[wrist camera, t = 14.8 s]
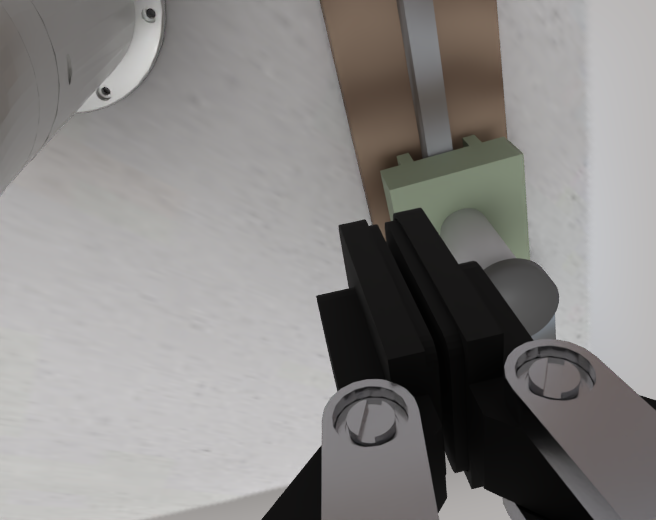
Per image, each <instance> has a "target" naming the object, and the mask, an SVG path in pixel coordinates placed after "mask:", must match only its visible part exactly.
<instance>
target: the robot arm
mask: <svg viewBox="0 0 656 520" xmlns="http://www.w3.org/2000/svg"><path fill="white" fill-rule="evenodd" d="M150 8H151V9H153V10H154V11H155V13H156V15H155V17H150V16H149V15H148V13H147V10H148V9H150ZM165 22H166V14H165V0H0V196H1V195H2V193H3V192H4V191H5V189H6V188H7V187H8V185H9V184H10V183H11V182H12V181H13V180H14V178H15V177H16V176H17V175H18V174H19V173H20V172H21V170H22V169H23V168H24V167H25V166H26V165H27V164H28V163H29V162H30V161H31V160H32V159H33V158H34V157H35V156H36V155H37V154H38V153H39V152H40V151H41V150H42V148H43V147H44V146H45V145H46V144H47V143H48V142H49V141H50V140H51V139H52V137H53V136H54V135H55V134H56V133H57V132H58V131H59V130H60V129H61V128H62V127H63V125H64V124H65V123H66V122H67V121H68V120H69V119H70V118H71V117H72V116H73V115H74V114H75V113H87V112H92V111H95V110H99V109H103V108H106V107H109V106H110V105H112V104H114V103H116V102H118V101H120V100H122V99H124V98H125V97H126V96H127V95H129V94H130V93H131V92H132V91H133V90H135V89H136V88H137V87H138V86H139V85H140V84H141V82H142V81H143V80H144V79H145V77H146V76H147V75H148V73H149V72H150V70H151V68H152V67H153V65H154V63H155V61H156V60H157V57H158V54H159V51H160V48H161V45H162V42H163V37H164V30H165ZM103 87H107V88H108V89H109V90H110V93H109V94H107V93H105V92H104V91H103ZM339 234H340V240H341V245H342V251H343V257H344V263H345V268H346V274H347V280H348V286H349V289H344V290H340V291H335V292H331V293H327V294H322V295H318V296H316V297H317V302H318V307H319V311H320V316H321V321H322V325H323V330H324V334H325V339H326V344H327V348H328V352H329V357H330V361H331V366H332V370H333V374H334V379H335V383H336V387H337V393H335V394H334V395H333V396H332V397H331V398H330V400H329V401H328V403H327V405H326V406H325V408H324V412H323V417H322V445H321V447H320V448H319V449H318V450H317V452H316V453H315V454H314V455H313V456H312V458H311V459H310V460H309V461H308V463H307V464H306V465H305V466H304V468H303V469H302V470H301V471H300V473H299V474H298V475H297V476H296V478H295V479H294V480H293V481H292V482H291V484H290V485H289V486H288V487H287V489H286V490H285V491H284V493H283V494H282V495H281V496H280V497H279V499H278V500H277V501H276V502H275V504H274V505H273V506H272V507H271V509H270V510H269V511H268V512H267V514H266V515H265V516H264V517H263V518H262V520H439V516H438V513H439V511H440V509H441V507H442V506H443V504H444V502H445V500H446V499H447V491H446V477H445V475H446V463H445V453H446V455H447V458H448V460H449V463H450V465H451V467H452V469H453V471H454V472H455V473H458V472H462V471H464V472H465V475H466V477H467V479H468V482H469V484H470V486H471V489H474V488H479V487H484V489H486V490H488V491H490V492H492V493H495V494H497V495H499V496H501V497H503V504H504V506H505V508H506V511H507V513H508V515H509V516H510V518H511V519H512V520H656V400H653V399H650V398H647V397H643V396H640V395H638V394H637V393H636V392H635V391H633V389H631V388H630V387H629V386H628V385H627V384H626V383H625V382H624V381H623V380H622V379H621V378H619V377H618V376H617V375H616V374H615V373H614V372H613V371H612V370H611V369H610V368H608V367H607V366H606V365H605V364H604V363H603V362H602V361H601V360H600V359H599V358H597V357H596V356H595V355H594V354H592V353H591V352H589V351H588V350H586V349H585V348H583V347H581V346H578V345H576V344H573V343H571V342H566V341H561V340H556V339H539V340H535V341H534V340H533V339H532V337H531V336H530V334H529V333H528V332H527V330H526V329H525V327H524V326H523V325H522V323H521V322H520V320H519V319H518V318H517V316H516V315H515V313H514V312H513V311H512V309H511V308H510V306H509V305H508V304H507V302H506V301H505V299H504V298H503V297H502V295H501V294H500V292H499V291H498V290H497V288H496V287H495V285H494V284H493V283H492V281H491V280H490V278H489V277H488V276H487V274H486V273H485V271H484V270H483V269H482V267H481V266H480V265H479V264H478V263H477V262H476V261H469V262H465V263H460V264H458V262H457V261H456V259H455V258H454V256H453V255H452V253H451V252H450V250H449V249H448V247H447V246H446V244H445V243H444V241H443V240H442V238H441V236H440V235H439V233H438V232H437V230H436V229H435V227H434V226H433V224H432V223H431V221H430V220H429V218H428V217H427V215H426V214H425V212H424V211H423V209H422V208H415V209H411V210H406V211H401V212H397V213H394V214H393V221H389V222H385V235H386V241H385V239H384V237H383V234H382V232H381V230H380V228H379V226H378V225H377V224H375V225H371V226H368V223H367V221H366V220H360V221H356V222H351V223H347V224H342V225H339Z"/></svg>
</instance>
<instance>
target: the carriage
mask: <svg viewBox="0 0 656 520" xmlns="http://www.w3.org/2000/svg"><path fill="white" fill-rule="evenodd" d="M462 140H463V148H460V149H457V150H453V151H449V152H446V153H442V154H439V155H435V156H431V157H428V158H424V159H421V160H417V161H413V159H412V158H411V156H410V154H409V153H406V154H402V155H399V156H397V161H398V166H395V167H392V168H388V169H384V170H381V171H380V173H381V178H382V182H383V187H384V192H385V196H386V201H387V206H388V210H389V215H390V220H391V221H393V214H394V213H397V212H401V211H406V210H411V209H415V208H422V209H423V211H424V212H425V214H426V215H427V217H428V218H429V220H430V221H431V223H432V224H433V226H434V227H435V229H436V230H437V232H438V233H439V235H440V236H441V238H442V240H443V241H444V243H445V244H446V246H447V247H448V249H449V250H450V252H451V253H452V255H453V256H454V258H455V259H456V261H457V262H458V264H460V263H465V262H469V261H476V262H477V263H478V264H479V265H480V266H481V267H482V269H483V270H484V271H485V273H486V274H487V276H488V277H489V278H490V280H491V281H492V283H493V284H494V285H495V287H496V288H497V290H498V291H499V292H500V294H501V295H502V297H503V298H504V299H505V301H506V302H507V304H508V305H509V306H510V308H511V309H512V311H513V312H514V313H515V315H516V316H517V318H518V319H519V320H520V322H521V323H522V325H523V326H524V327H525V329H526V330H527V332H528V333H529V334H530V336H532V335H534V334H536V333H537V332H539V331H540V330H541V329H543V328H544V327H545V326H546V325H547V324H548V323H549V322H550V320H551V319H552V318H553V316H554V314H555V312H556V310H557V307H558V303H559V293H558V289H557V287H556V285H555V284H554V282H553V281H552V280H551V279H550V277H549V276H548V275H547V274H546V272H545V271H544V270H543V269H542V268H541V267H540V266H539V265H538V264H536V263H535V262H533V261H530V254H529V238H528V222H527V206H526V189H525V173H524V157H523V153H522V152H521V151H520V150H519V149H517V148H516V147H515V146H514V145H513V144H512V143H511V142H510V141H508V140H507V139H506V138H505V137H500V138H496V139H493V140H489V141H486V142H481V141H480V140H479V139H478V138H477V137H476V136H475V135H471V136H467V137H463V138H462Z"/></svg>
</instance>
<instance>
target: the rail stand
mask: <svg viewBox="0 0 656 520" xmlns="http://www.w3.org/2000/svg"><path fill="white" fill-rule="evenodd" d="M320 4H321V8H322V12H323V17H324V21H325V25H326V29H327V34H328V38H329V42H330V46H331V51H332V55H333V59H334V63H335V68H336V72H337V76H338V80H339V85H340V89H341V93H342V97H343V102H344V106H345V110H346V114H347V119H348V123H349V127H350V131H351V136H352V140H353V144H354V148H355V153H356V157H357V161H358V165H359V170H360V174H361V178H362V182H363V187H364V191H365V195H366V199H367V204H368V208H369V212H370V216H371V221H372V225H375V224H377V225H378V226H379V228H380V230H381V232H382V234H383V237H384V239H385V241H386V235H385V222H389V221H391V220H390V215H389V210H388V206H387V201H386V196H385V192H384V187H383V182H382V178H381V173H380V171H381V170H384V169H388V168H392V167H395V166H398V161H397V156H399V155H402V154H406V153H409V154H410V156H411V158H412V159H413V161H417V160H421V159H424V158H428V157H431V156H435V155H439V154H442V153H446V152H449V151H453V150H457V149H460V148H463V140H462V138H463V137H467V136H471V135H475V136H476V137H477V138H478V139H479V140H480V141H481V142H486V141H489V140H493V139H496V138H500V137H505V138H506V139H507V130H506V117H505V104H504V91H503V78H502V65H501V52H500V40H499V27H498V14H497V1H496V0H320ZM531 337H532V339H533V340H534V341H535V340H539V339H556V332H555V314H554V316H553V318H552V319H551V320H550V322H549V323H548V324H547V325H546V326H545V327H544V328H543V329H541V330H540V331H539V332H537V333H536V334H534V335H532V336H531Z"/></svg>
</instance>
